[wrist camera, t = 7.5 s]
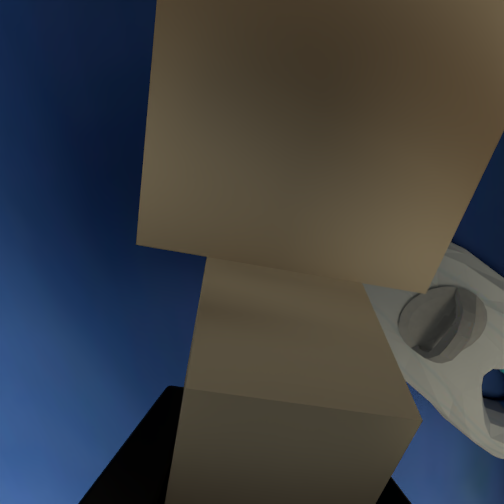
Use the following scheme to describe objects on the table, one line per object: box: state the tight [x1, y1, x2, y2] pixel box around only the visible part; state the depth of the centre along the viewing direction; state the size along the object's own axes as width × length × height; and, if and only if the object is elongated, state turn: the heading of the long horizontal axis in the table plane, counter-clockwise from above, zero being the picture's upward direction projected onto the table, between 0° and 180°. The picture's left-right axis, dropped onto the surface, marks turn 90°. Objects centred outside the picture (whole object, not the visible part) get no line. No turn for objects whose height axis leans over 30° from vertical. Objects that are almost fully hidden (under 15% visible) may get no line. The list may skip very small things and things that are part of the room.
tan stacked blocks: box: [136, 0, 504, 504], centre depth 7 cm, size 14×6×4 cm, turn 168°
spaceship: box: [362, 242, 504, 459], centre depth 19 cm, size 23×7×4 cm, turn 46°
